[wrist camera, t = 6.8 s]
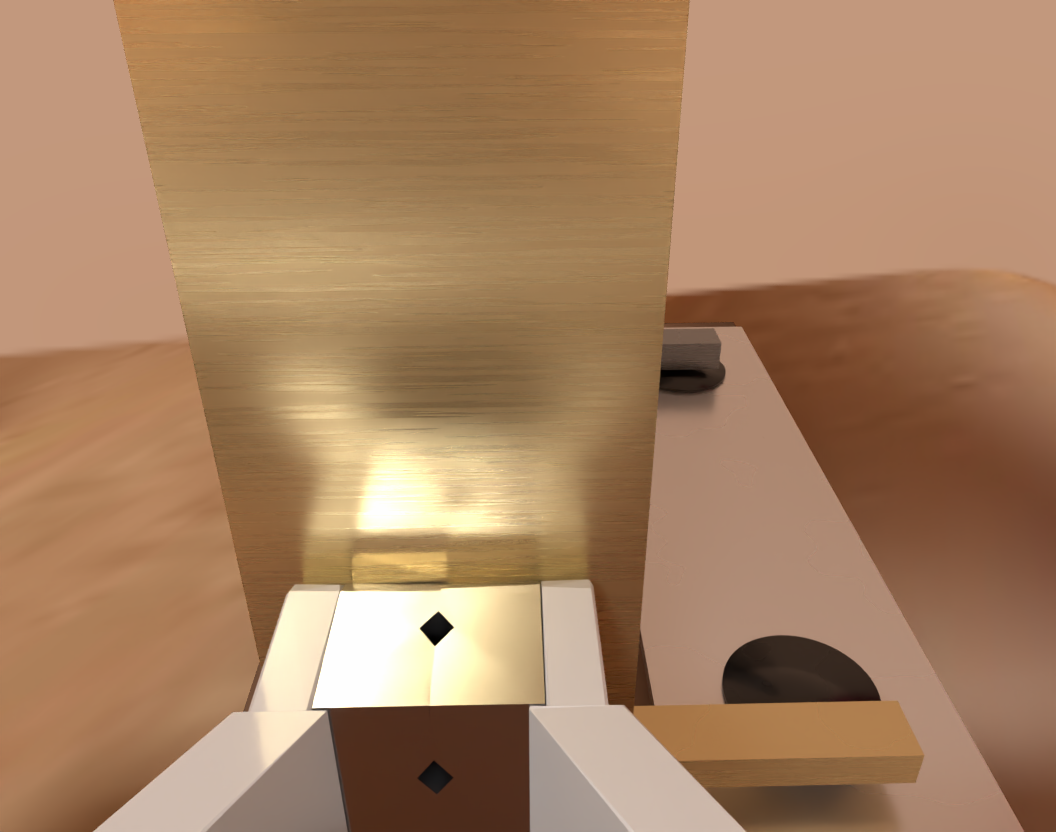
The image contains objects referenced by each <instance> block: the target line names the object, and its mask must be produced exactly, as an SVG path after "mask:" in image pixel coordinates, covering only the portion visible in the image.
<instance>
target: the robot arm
mask: <svg viewBox="0 0 1056 832" xmlns="http://www.w3.org/2000/svg"><path fill="white" fill-rule="evenodd" d="M93 832H746V831H745V830H744V829H743V827H742V826H741V825H740V824H739V823H738V822H737V821H736V820H735V819H734V818H733V817H732V816H731V815H730V814H729V813H728V812H727V811H726V810H725V809H724V808H723V807H722V806H721V805H720V804H719V803H718V802H717V801H716V800H715V798H714V797H713V796H712V795H711V794H710V793H709V792H708V791H707V790H706V789H705V788H704V787H703V786H702V785H701V784H700V783H699V782H698V781H697V780H696V779H695V778H694V777H693V776H692V775H691V774H690V773H689V772H688V771H687V769H686V768H685V767H684V766H683V765H682V764H681V763H680V762H679V761H678V760H677V759H676V758H675V757H674V756H673V755H672V754H671V753H670V752H669V751H668V750H667V749H666V748H665V747H664V746H663V745H662V744H661V743H660V742H659V740H658V739H657V738H656V737H655V736H654V735H653V734H652V733H651V732H650V731H649V730H648V729H647V728H646V727H645V726H644V725H643V724H642V723H641V722H640V721H639V720H638V719H637V718H636V717H635V716H634V715H633V714H632V713H631V711H630V710H629V709H628V708H627V707H626V706H625V705H609V704H608V696H607V689H606V681H605V673H604V665H603V657H602V650H601V642H600V634H599V626H598V618H597V611H596V603H595V595H594V587H593V585H592V583H591V582H590V580H589V579H586V580H559V581H541V585H540V583H539V582H525V583H482V584H345V585H316V584H295V585H294V586H293V587H292V588H291V590H290V591H289V592H288V593H287V595H286V597H285V600H284V603H283V606H282V609H281V612H280V615H279V618H278V621H277V625H276V628H275V631H274V634H273V637H272V640H271V643H270V646H269V649H268V652H267V655H266V658H265V661H264V664H263V667H262V671H261V674H260V677H259V680H258V683H257V686H256V689H255V692H254V695H253V698H252V701H251V704H250V707H249V710H248V712H232V713H231V714H230V715H228V716H227V717H226V718H225V719H224V720H223V721H221V722H220V723H219V724H218V725H217V726H216V727H214V728H213V729H212V730H211V731H210V732H209V733H207V734H206V735H205V736H204V737H203V738H202V739H200V740H199V741H198V742H197V743H196V744H195V745H193V746H192V747H191V748H190V749H189V750H188V751H186V752H185V753H184V754H183V755H182V756H181V757H179V758H178V759H177V760H176V761H175V762H174V763H172V764H171V765H170V766H169V767H168V768H167V769H165V770H164V771H163V772H162V773H161V774H160V775H158V776H157V777H156V778H155V779H154V780H153V781H151V782H150V783H149V784H148V785H147V786H146V787H144V788H143V789H142V790H141V791H140V792H139V793H137V794H136V795H135V796H134V797H133V798H132V799H130V800H129V801H128V802H127V803H126V804H125V805H123V806H122V807H121V808H120V809H119V810H118V811H116V812H115V813H114V814H113V815H112V816H111V817H109V818H108V819H107V820H106V821H105V822H104V823H102V824H101V825H100V826H99V827H98V828H97V829H95V830H94V831H93Z"/></svg>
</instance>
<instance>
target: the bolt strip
mask: <svg viewBox="0 0 1056 832" xmlns="http://www.w3.org/2000/svg"><path fill="white" fill-rule="evenodd" d="M702 328H714V329H715V331H716V333H717V335H718V337H719V339H720V341H721V343H722V344H721V353H720V361H719V369H689V370H660V382H659V395H658V407H657V420H656V433H655V446H654V458H653V471H652V484H651V496H650V509H649V522H648V534H647V547H646V560H645V573H644V585H643V598H642V611H641V623H640V636H639V641H640V647H641V652H642V658H643V663H644V669H645V674H646V680H647V686H648V691H649V697H650V702H651V706H661V705H709V704H756V703H804V702H852V701H898V702H899V704H900V706H901V708H902V711H903V713H904V715H905V717H906V719H907V721H908V723H909V725H910V727H911V729H912V731H913V733H914V735H915V737H916V739H917V741H918V743H919V745H920V747H921V749H922V751H923V753H924V755H925V756H924V759H923V762H922V765H921V768H920V771H919V774H918V777H917V780H916V783H891V784H847V785H802V786H758V787H713V788H705V789H706V790H707V791H708V792H709V793H710V794H711V795H712V796H713V797H714V798H715V800H716V801H717V802H718V803H719V804H720V805H721V806H722V807H723V808H724V809H725V810H726V811H727V812H728V813H729V814H730V815H731V816H732V817H733V818H734V819H735V820H736V821H737V822H738V823H739V824H740V825H741V826H742V827H743V829H744V830H745V831H746V832H1024V830H1023V828H1022V827H1021V825H1020V823H1019V821H1018V819H1017V818H1016V816H1015V814H1014V812H1013V811H1012V809H1011V807H1010V805H1009V803H1008V802H1007V800H1006V798H1005V796H1004V794H1003V793H1002V791H1001V789H1000V787H999V785H998V784H997V782H996V780H995V778H994V777H993V775H992V773H991V771H990V769H989V768H988V766H987V764H986V762H985V760H984V759H983V757H982V755H981V753H980V752H979V750H978V748H977V746H976V744H975V743H974V741H973V739H972V737H971V735H970V734H969V732H968V730H967V728H966V727H965V725H964V723H963V721H962V719H961V718H960V716H959V714H958V712H957V710H956V709H955V707H954V705H953V703H952V702H951V700H950V698H949V696H948V694H947V693H946V691H945V689H944V687H943V685H942V684H941V682H940V680H939V678H938V677H937V675H936V673H935V671H934V669H933V668H932V666H931V664H930V662H929V660H928V659H927V657H926V655H925V653H924V652H923V650H922V648H921V646H920V644H919V643H918V641H917V639H916V637H915V635H914V634H913V632H912V630H911V628H910V627H909V625H908V623H907V621H906V619H905V618H904V616H903V614H902V612H901V610H900V609H899V607H898V605H897V603H896V602H895V600H894V598H893V596H892V594H891V593H890V591H889V589H888V587H887V585H886V584H885V582H884V580H883V578H882V577H881V575H880V573H879V571H878V569H877V568H876V566H875V564H874V562H873V560H872V559H871V557H870V555H869V553H868V552H867V550H866V548H865V546H864V544H863V543H862V541H861V539H860V537H859V535H858V534H857V532H856V530H855V528H854V527H853V525H852V523H851V521H850V519H849V518H848V516H847V514H846V512H845V510H844V509H843V507H842V505H841V503H840V502H839V500H838V498H837V496H836V494H835V493H834V491H833V489H832V487H831V485H830V484H829V482H828V480H827V478H826V477H825V475H824V473H823V471H822V469H821V468H820V466H819V464H818V462H817V460H816V459H815V457H814V455H813V453H812V451H811V450H810V448H809V446H808V444H807V443H806V441H805V439H804V437H803V435H802V434H801V432H800V430H799V428H798V426H797V425H796V423H795V421H794V419H793V418H792V416H791V414H790V412H789V410H788V409H787V407H786V405H785V403H784V401H783V400H782V398H781V396H780V394H779V393H778V391H777V389H776V387H775V385H774V384H773V382H772V380H771V378H770V376H769V375H768V373H767V371H766V369H765V368H764V366H763V364H762V362H761V360H760V359H759V357H758V355H757V353H756V351H755V350H754V348H753V346H752V344H751V343H750V341H749V339H748V337H747V335H746V334H745V332H744V330H743V328H742V327H677V328H664V329H702Z"/></svg>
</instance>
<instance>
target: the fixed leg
mask: <svg viewBox="0 0 1056 832" xmlns="http://www.w3.org/2000/svg"><path fill="white" fill-rule="evenodd" d="M721 344H722V343H721V341H720V339H719V337H718V335H717V333H716V331H715V329H714V328H702V329H664V331H663V344H662V357H661V369H660V370H689V369H719V361H720V353H721Z"/></svg>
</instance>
